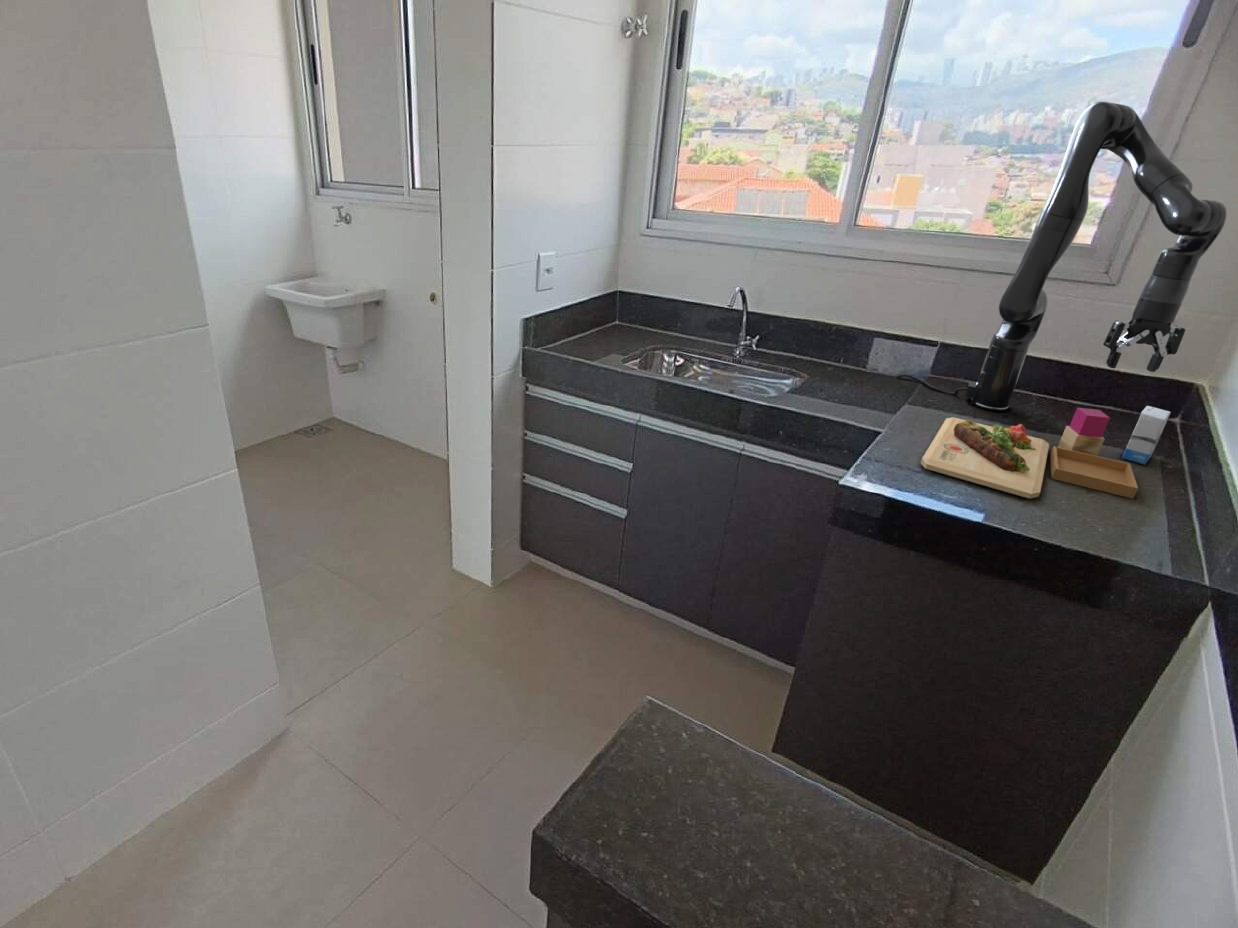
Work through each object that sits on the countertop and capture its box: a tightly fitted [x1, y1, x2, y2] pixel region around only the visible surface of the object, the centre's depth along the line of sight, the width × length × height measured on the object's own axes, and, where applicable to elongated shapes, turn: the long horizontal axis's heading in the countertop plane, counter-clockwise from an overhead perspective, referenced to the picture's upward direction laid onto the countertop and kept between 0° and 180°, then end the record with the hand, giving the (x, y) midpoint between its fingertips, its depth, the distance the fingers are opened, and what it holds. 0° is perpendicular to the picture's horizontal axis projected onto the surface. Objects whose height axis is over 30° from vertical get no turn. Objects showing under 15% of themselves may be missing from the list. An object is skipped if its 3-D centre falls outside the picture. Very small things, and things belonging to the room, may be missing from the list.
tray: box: [1049, 445, 1139, 500], centre depth 147 cm, size 15×14×3 cm
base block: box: [1057, 425, 1105, 456], centre depth 157 cm, size 6×6×6 cm
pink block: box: [1069, 407, 1111, 437], centre depth 155 cm, size 5×5×5 cm
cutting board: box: [920, 417, 1050, 500], centre depth 152 cm, size 35×23×8 cm
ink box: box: [1121, 405, 1172, 465], centre depth 157 cm, size 9×5×12 cm, turn 135°
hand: (1130, 369), depth 150 cm, fingers open, 8 cm apart
